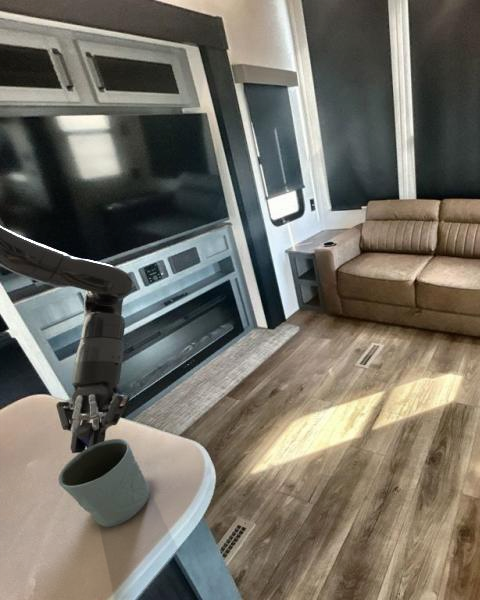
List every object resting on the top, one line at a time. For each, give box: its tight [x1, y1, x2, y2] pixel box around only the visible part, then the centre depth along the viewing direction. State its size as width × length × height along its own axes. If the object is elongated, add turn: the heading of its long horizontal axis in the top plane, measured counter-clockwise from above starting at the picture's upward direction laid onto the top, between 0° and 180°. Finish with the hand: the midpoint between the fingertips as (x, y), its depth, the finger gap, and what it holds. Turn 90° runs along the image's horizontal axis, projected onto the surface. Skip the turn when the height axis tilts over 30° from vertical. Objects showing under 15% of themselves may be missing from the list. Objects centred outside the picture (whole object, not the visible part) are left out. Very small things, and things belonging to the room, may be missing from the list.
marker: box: [75, 422, 94, 449], centre depth 73 cm, size 3×3×12 cm
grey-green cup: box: [57, 438, 151, 528], centre depth 66 cm, size 10×10×12 cm
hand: (86, 451), depth 70 cm, fingers closed on marker, 3 cm apart
